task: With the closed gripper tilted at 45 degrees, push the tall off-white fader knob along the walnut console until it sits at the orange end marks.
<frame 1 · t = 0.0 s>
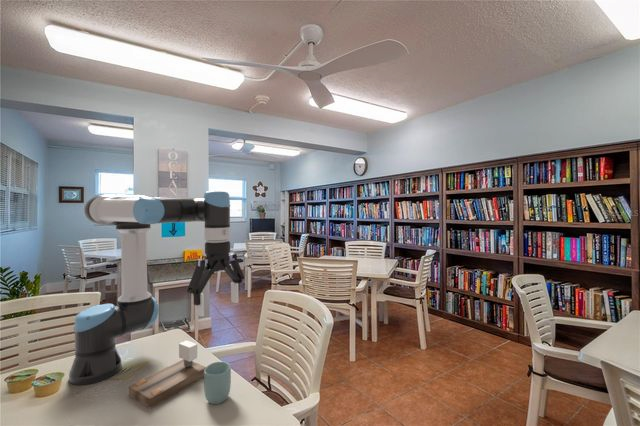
hand: (218, 308, 93), 28 cm above the table, tool pointing down, fingers open, 13 cm apart
fader knob: (188, 354, 106), point 7 cm above the table, slide at 0.0 cm
cup: (217, 400, 92), on the table
console: (169, 385, 100), on the table
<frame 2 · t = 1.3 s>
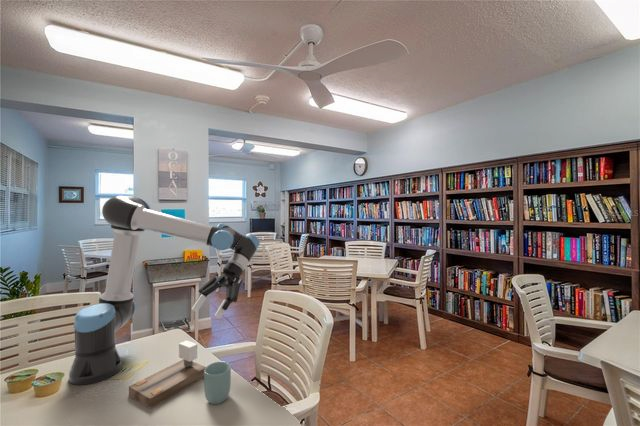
hand: (205, 314, 112), 20 cm above the table, tool tilted 45°, fingers open, 12 cm apart
nothing on the table moved.
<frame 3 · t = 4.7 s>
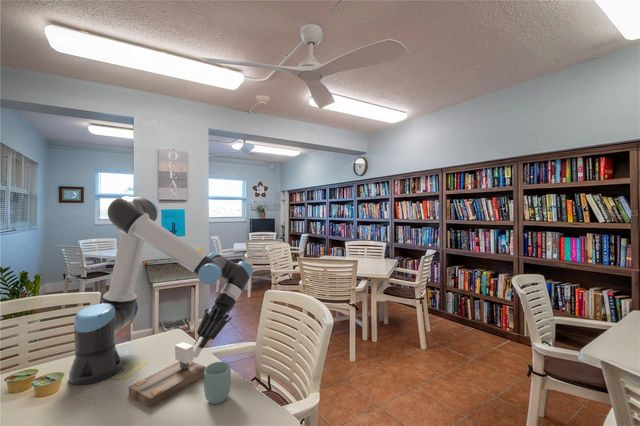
hand: (193, 356, 107), 7 cm above the table, tool tilted 45°, fingers closed
fader knob: (184, 356, 105), point 7 cm above the table, slide at 1.5 cm, touching gripper
everything else where it was.
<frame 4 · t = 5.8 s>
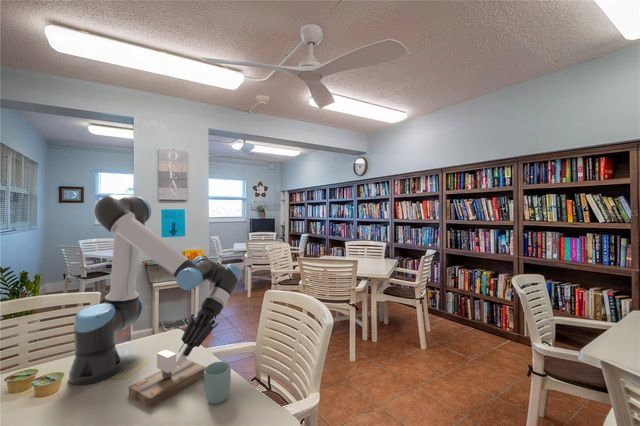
hand: (176, 364, 101), 7 cm above the table, tool tilted 45°, fingers closed
fader knob: (166, 364, 99), point 7 cm above the table, slide at 8.0 cm, touching gripper
everything else where it was.
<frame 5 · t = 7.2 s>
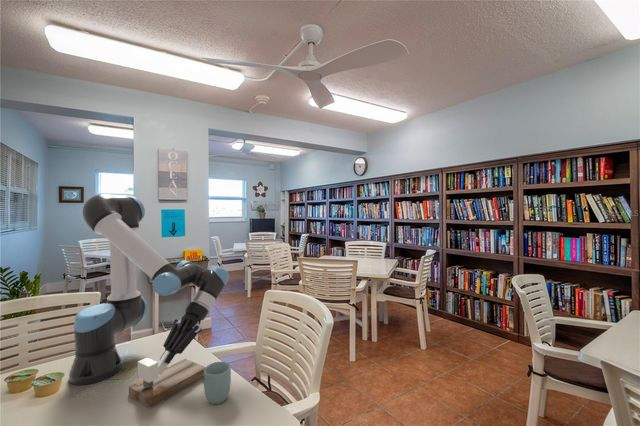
hand: (157, 372, 96), 7 cm above the table, tool tilted 45°, fingers closed
fader knob: (148, 373, 94), point 7 cm above the table, slide at 14.2 cm, touching gripper
everything else where it was.
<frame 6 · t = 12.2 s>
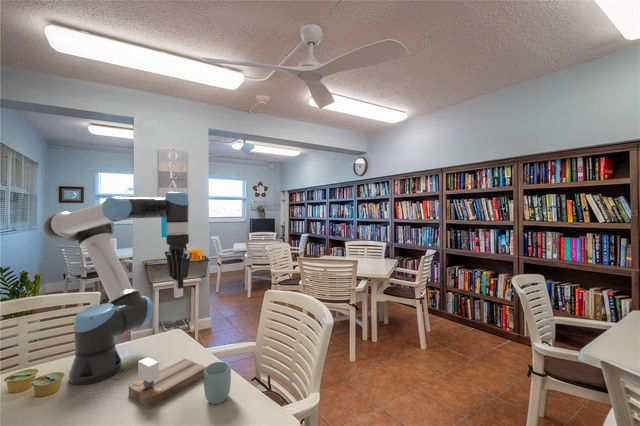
hand: (178, 296, 111), 26 cm above the table, tool pointing down, fingers closed
fader knob: (148, 373, 94), point 7 cm above the table, slide at 14.0 cm
everything else where it was.
at the end: fader knob slide at 14.0 cm; cup moved 0.2 cm from its start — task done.
